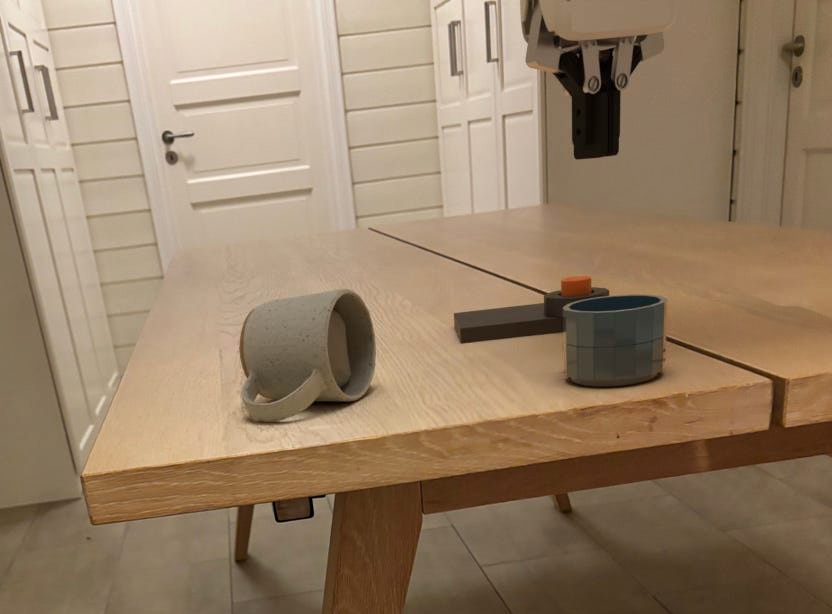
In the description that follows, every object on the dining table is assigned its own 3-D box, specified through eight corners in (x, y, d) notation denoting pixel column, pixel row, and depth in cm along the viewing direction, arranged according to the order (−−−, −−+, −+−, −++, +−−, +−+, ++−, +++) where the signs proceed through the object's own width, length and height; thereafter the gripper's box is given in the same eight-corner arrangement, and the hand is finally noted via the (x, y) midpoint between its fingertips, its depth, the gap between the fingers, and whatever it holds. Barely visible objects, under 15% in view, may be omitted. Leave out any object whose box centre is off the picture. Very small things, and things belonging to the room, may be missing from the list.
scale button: (588, 293, 86) (588, 275, 85) (593, 297, 84) (593, 278, 83) (559, 296, 86) (558, 278, 86) (563, 300, 84) (563, 281, 83)
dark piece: (592, 312, 92) (592, 279, 91) (614, 329, 84) (614, 293, 82) (454, 328, 93) (452, 295, 92) (461, 346, 85) (459, 310, 83)
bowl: (650, 362, 71) (652, 290, 68) (675, 381, 65) (678, 304, 62) (557, 372, 71) (556, 301, 69) (573, 392, 65) (572, 316, 63)
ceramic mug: (290, 386, 77) (275, 286, 74) (382, 386, 73) (371, 280, 70) (218, 425, 69) (197, 314, 65) (317, 426, 65) (300, 309, 62)
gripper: (529, -183, 56) (537, 167, 64) (731, -184, 60) (714, 143, 69) (464, -143, 62) (479, 171, 70) (652, -147, 67) (645, 148, 75)
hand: (595, 156), depth 69 cm, fingers closed
